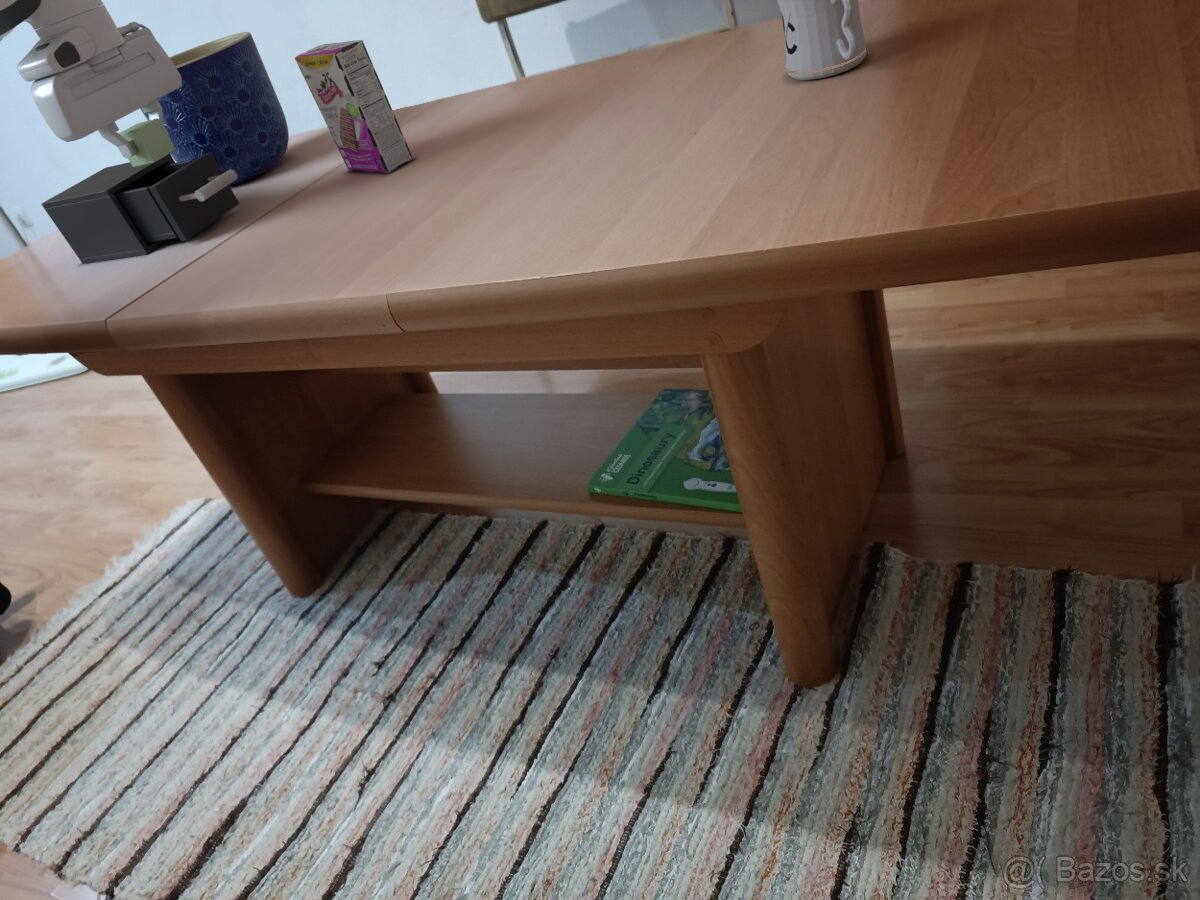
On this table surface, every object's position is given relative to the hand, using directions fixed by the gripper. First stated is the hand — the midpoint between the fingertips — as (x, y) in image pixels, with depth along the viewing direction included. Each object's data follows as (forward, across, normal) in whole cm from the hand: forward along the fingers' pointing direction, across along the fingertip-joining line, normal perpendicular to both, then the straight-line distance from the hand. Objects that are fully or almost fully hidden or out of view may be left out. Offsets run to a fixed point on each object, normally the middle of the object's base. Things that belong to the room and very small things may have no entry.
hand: (147, 147), depth 118 cm
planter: (+13, -23, -10) cm, 28 cm away
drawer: (+11, 0, 0) cm, 11 cm away
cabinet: (+12, 0, -12) cm, 17 cm away
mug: (+13, -19, +88) cm, 90 cm away
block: (+2, 0, 0) cm, 2 cm away
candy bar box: (+13, -14, +24) cm, 31 cm away
